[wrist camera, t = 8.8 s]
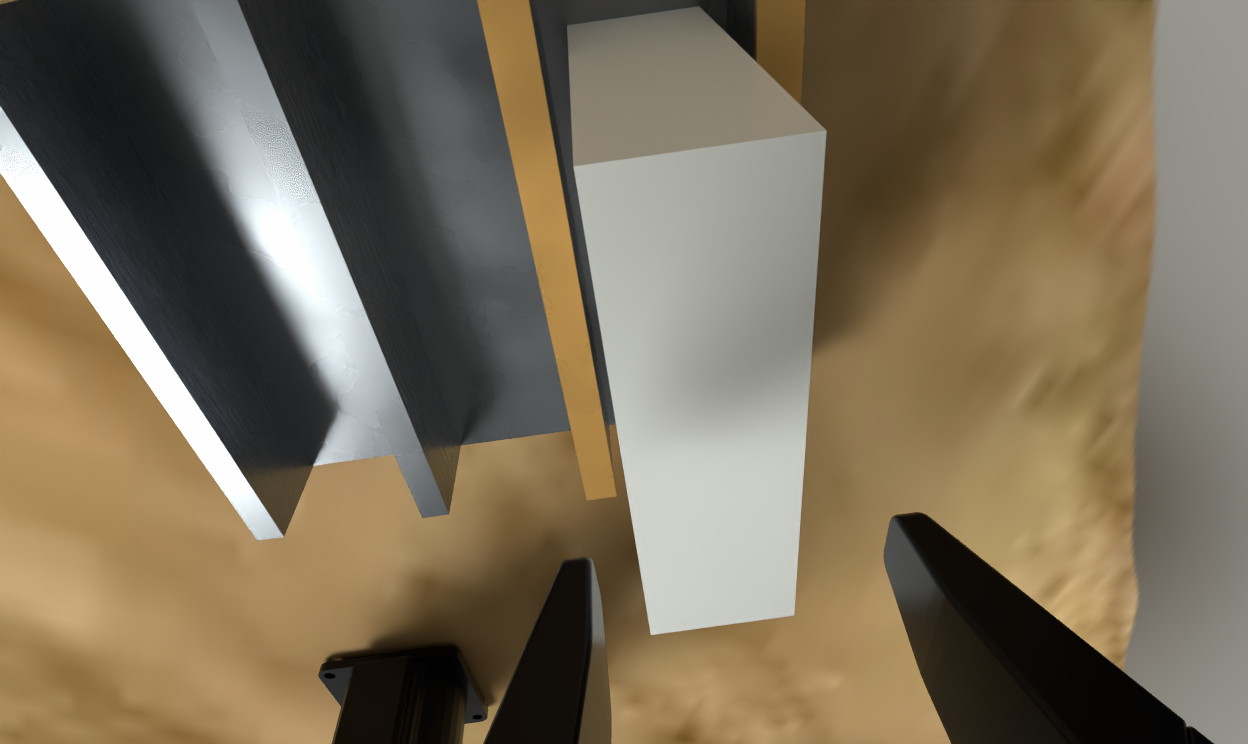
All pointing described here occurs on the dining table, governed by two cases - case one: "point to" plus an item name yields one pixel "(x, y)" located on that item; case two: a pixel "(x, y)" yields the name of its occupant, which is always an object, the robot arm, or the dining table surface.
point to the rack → (332, 219)
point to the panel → (701, 303)
